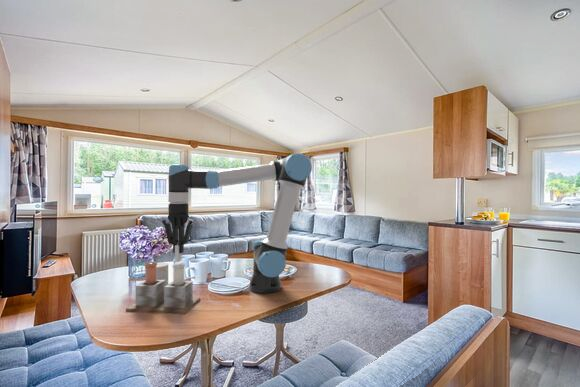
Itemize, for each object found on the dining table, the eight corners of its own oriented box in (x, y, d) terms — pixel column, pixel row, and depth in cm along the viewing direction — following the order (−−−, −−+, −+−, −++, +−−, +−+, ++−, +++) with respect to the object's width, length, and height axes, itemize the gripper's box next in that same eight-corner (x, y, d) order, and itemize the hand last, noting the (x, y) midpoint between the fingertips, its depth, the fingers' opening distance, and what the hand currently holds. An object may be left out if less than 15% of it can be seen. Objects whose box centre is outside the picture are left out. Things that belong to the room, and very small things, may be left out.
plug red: (159, 285, 120) (159, 262, 120) (153, 289, 116) (152, 265, 115) (149, 285, 121) (148, 261, 120) (142, 289, 116) (142, 264, 116)
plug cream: (186, 287, 119) (186, 263, 119) (181, 291, 114) (181, 266, 114) (176, 286, 119) (176, 262, 119) (170, 290, 115) (170, 265, 115)
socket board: (200, 299, 123) (200, 279, 123) (184, 314, 109) (184, 290, 109) (147, 297, 126) (147, 277, 126) (126, 311, 112) (125, 288, 112)
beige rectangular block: (161, 294, 130) (161, 267, 130) (145, 292, 132) (145, 266, 131) (172, 287, 138) (171, 263, 138) (157, 286, 140) (156, 262, 139)
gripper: (197, 202, 119) (197, 259, 120) (168, 202, 121) (167, 258, 121) (189, 203, 112) (189, 264, 112) (158, 203, 113) (157, 262, 114)
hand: (178, 260), depth 117 cm, fingers closed
